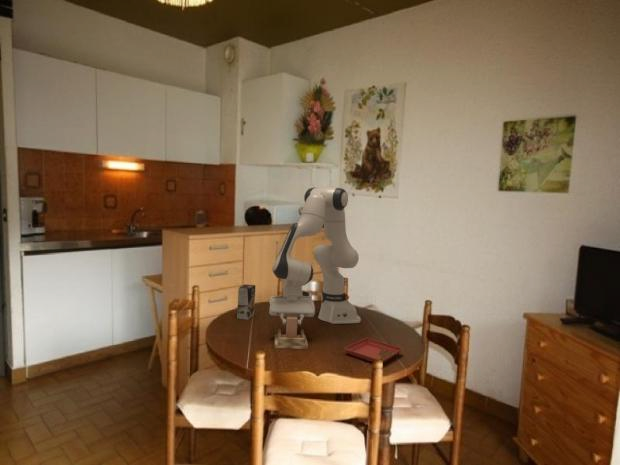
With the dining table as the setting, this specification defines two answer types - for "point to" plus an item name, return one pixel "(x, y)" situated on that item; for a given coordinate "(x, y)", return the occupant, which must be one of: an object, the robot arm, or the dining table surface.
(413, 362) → the dining table surface
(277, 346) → the rack
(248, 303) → the coffee box
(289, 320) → the pinkish brown block
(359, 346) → the plant saucer
